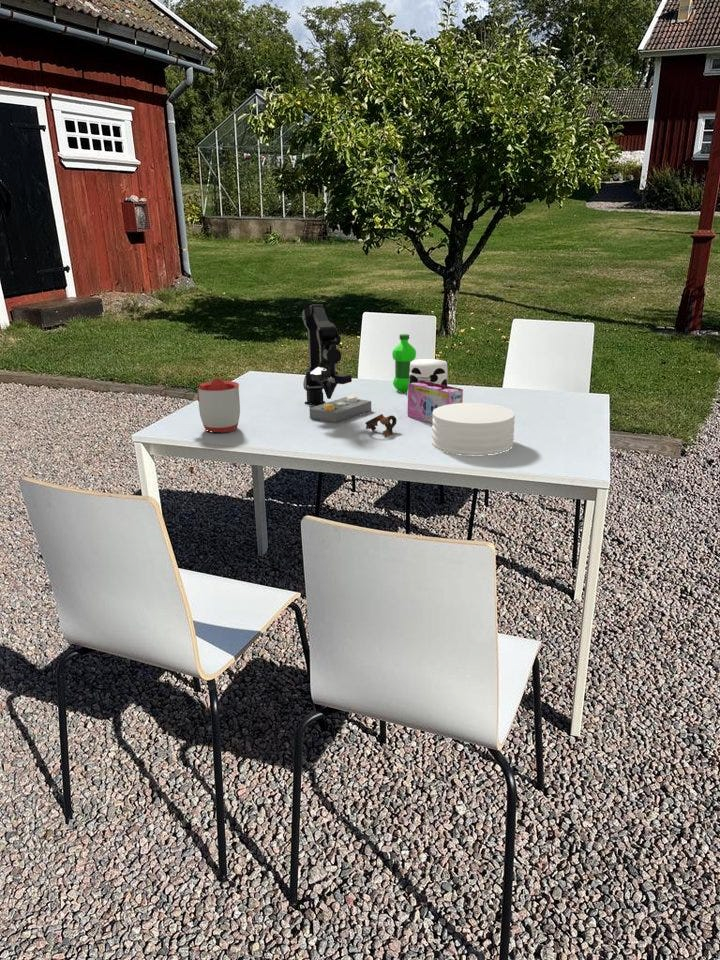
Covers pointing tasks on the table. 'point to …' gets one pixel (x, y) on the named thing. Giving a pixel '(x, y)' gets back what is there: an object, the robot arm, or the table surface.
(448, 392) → the gum box
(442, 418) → the plate stack
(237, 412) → the citrus juicer
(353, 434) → the table surface
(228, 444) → the table surface
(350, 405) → the button panel
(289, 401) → the table surface
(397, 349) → the plastic bottle
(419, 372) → the milk container
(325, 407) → the amber button
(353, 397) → the cream button
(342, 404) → the sage button
